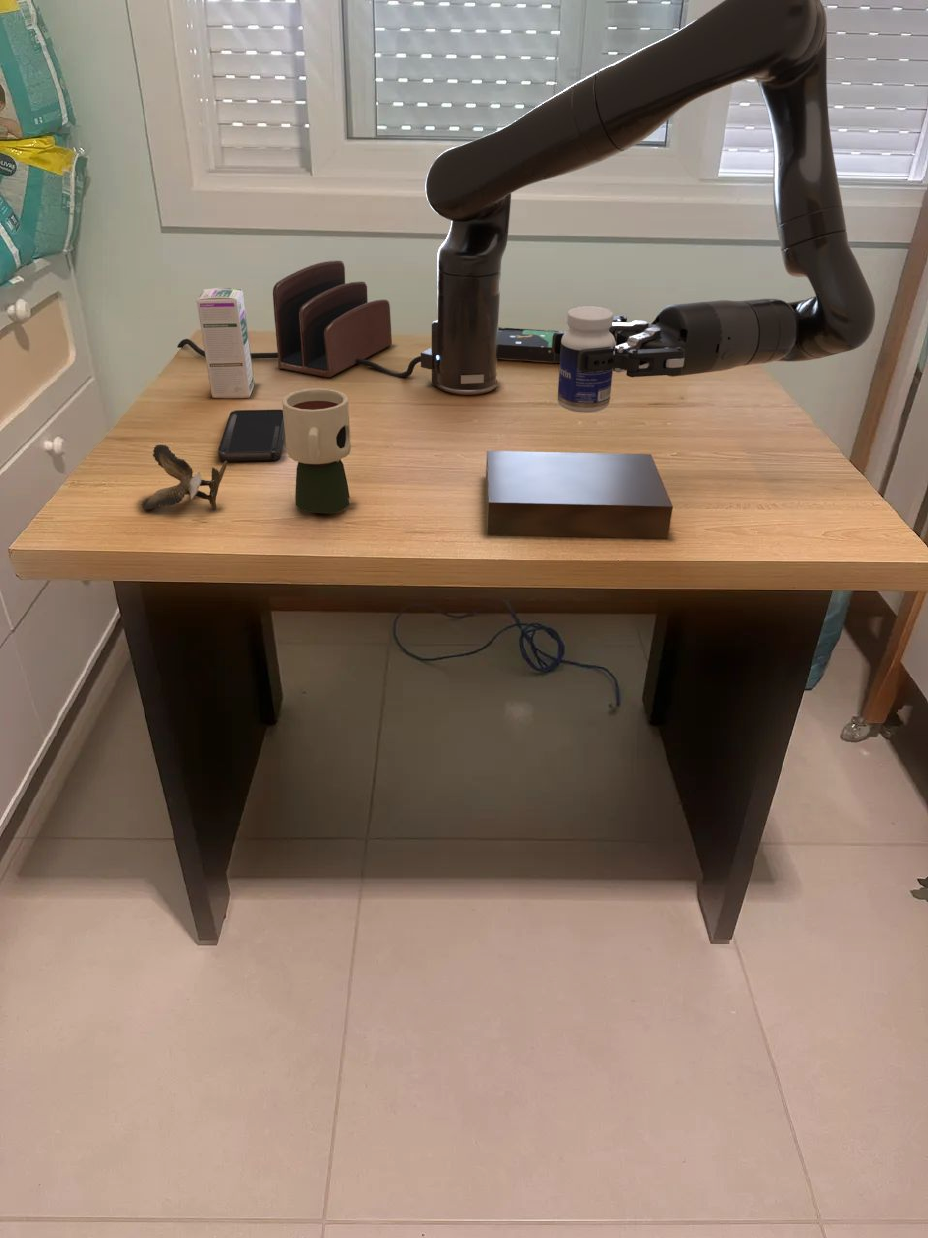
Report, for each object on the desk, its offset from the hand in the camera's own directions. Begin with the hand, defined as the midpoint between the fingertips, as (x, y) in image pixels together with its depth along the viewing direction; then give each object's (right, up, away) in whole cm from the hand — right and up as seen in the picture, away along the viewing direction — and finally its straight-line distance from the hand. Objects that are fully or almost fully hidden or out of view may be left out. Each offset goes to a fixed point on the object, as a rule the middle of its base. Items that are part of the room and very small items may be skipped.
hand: (566, 352), depth 93 cm
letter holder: (-32, +16, +55) cm, 66 cm away
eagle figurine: (-43, -15, +10) cm, 47 cm away
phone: (-39, -4, +26) cm, 47 cm away
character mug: (-27, -15, +10) cm, 33 cm away
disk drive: (0, +18, +60) cm, 62 cm away
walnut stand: (+2, -15, +11) cm, 19 cm away
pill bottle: (+2, -5, +4) cm, 7 cm away
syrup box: (-46, +6, +41) cm, 62 cm away
